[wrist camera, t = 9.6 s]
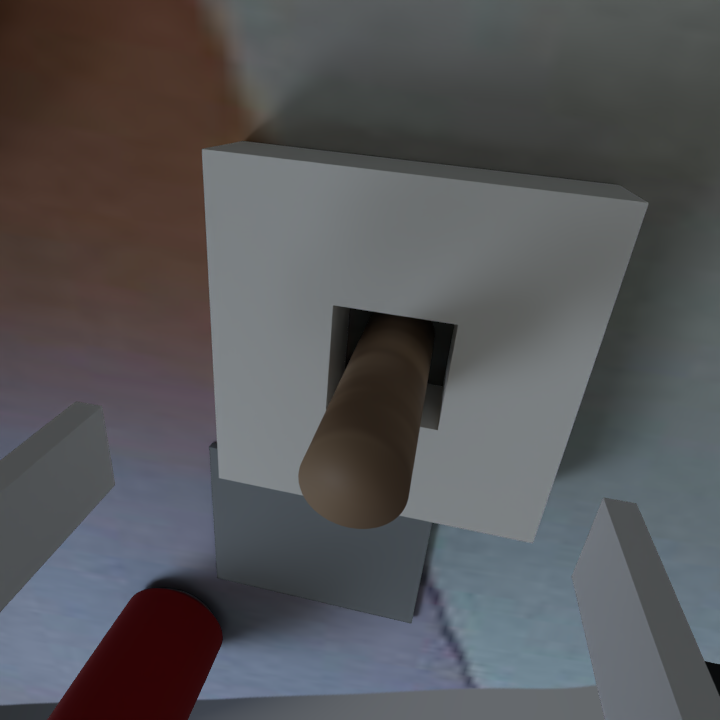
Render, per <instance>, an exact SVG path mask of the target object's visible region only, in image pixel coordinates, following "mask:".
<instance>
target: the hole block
mask: <svg viewBox="0 0 720 720" xmlns="http://www.w3.org/2000/svg"><path fill="white" fill-rule="evenodd" d="M202 161H203V180H204V200H205V219H206V238H207V257H208V276H209V296H210V315H211V334H212V353H213V373H214V392H215V411H216V430H217V450H218V469H219V478H221V479H226V480H231V481H235V482H240V483H245V484H250V485H255V486H259V487H264V488H269V489H274V490H279V491H283V492H288V493H293V494H298V495H303V494H302V492H301V489H300V486H299V480H298V474H299V468H300V465H301V463H302V460H303V458H304V456H305V454H306V452H307V450H308V448H309V446H310V444H311V441H312V439H313V437H314V435H315V433H316V431H317V429H318V427H319V424H320V422H321V420H322V418H323V416H324V414H325V412H326V410H327V408H328V405H329V403H330V401H331V399H332V397H333V395H334V393H335V391H336V388H337V386H338V384H339V382H340V380H341V378H342V376H343V374H344V371H345V363H346V351H347V339H348V327H349V315H350V308H354V309H360V310H367V311H373V312H379V313H386V314H392V315H399V316H405V317H411V318H418V319H424V320H430V321H437V322H443V323H450V324H454V329H453V334H452V339H451V345H450V350H449V355H448V361H447V366H446V371H445V376H444V382H443V386H438V385H432V384H427V388H426V394H425V400H424V406H423V412H422V419H421V425H420V431H419V437H418V443H417V449H416V455H415V461H414V467H413V473H412V479H411V486H410V492H409V498H408V502H407V504H406V507H405V509H404V510H403V512H402V513H401V514H400V515H399V516H404V517H408V518H413V519H418V520H423V521H428V522H432V523H437V524H442V525H447V526H452V527H457V528H461V529H466V530H471V531H476V532H481V533H485V534H490V535H495V536H500V537H505V538H509V539H514V540H519V541H524V542H529V543H533V541H534V539H535V536H536V533H537V530H538V527H539V524H540V521H541V518H542V515H543V512H544V509H545V506H546V503H547V500H548V497H549V495H550V492H551V489H552V486H553V483H554V480H555V477H556V474H557V471H558V468H559V465H560V462H561V459H562V456H563V453H564V451H565V448H566V445H567V442H568V439H569V436H570V433H571V430H572V427H573V424H574V421H575V418H576V415H577V412H578V409H579V406H580V404H581V401H582V398H583V395H584V392H585V389H586V386H587V383H588V380H589V377H590V374H591V371H592V368H593V365H594V362H595V360H596V357H597V354H598V351H599V348H600V345H601V342H602V339H603V336H604V333H605V330H606V327H607V324H608V321H609V318H610V316H611V313H612V310H613V307H614V304H615V301H616V298H617V295H618V292H619V289H620V286H621V283H622V280H623V277H624V274H625V272H626V269H627V266H628V263H629V260H630V257H631V254H632V251H633V248H634V245H635V242H636V239H637V236H638V233H639V230H640V227H641V225H642V222H643V219H644V216H645V213H646V210H647V207H648V204H649V203H648V202H647V201H645V200H643V199H642V198H640V197H638V196H637V195H635V194H633V193H632V192H630V191H629V190H627V189H625V188H624V187H622V186H620V185H615V184H606V183H598V182H589V181H581V180H572V179H563V178H555V177H546V176H538V175H529V174H521V173H512V172H504V171H495V170H487V169H478V168H469V167H461V166H452V165H444V164H435V163H427V162H418V161H410V160H401V159H392V158H384V157H375V156H367V155H358V154H350V153H341V152H333V151H324V150H315V149H307V148H298V147H290V146H281V145H273V144H264V143H256V142H247V141H241V142H236V143H231V144H225V145H220V146H215V147H210V148H205V149H202Z"/></svg>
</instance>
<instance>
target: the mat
mask: <svg viewBox="0 0 720 720" xmlns="http://www.w3.org/2000/svg"><path fill="white" fill-rule="evenodd" d="M209 451H210V467H211V484H212V500H213V516H214V533H215V549H216V565H217V578H220V579H224V580H228V581H232V582H237V583H241V584H245V585H249V586H254V587H258V588H262V589H266V590H271V591H275V592H279V593H284V594H288V595H292V596H296V597H301V598H305V599H309V600H313V601H318V602H322V603H326V604H330V605H335V606H339V607H343V608H347V609H352V610H356V611H360V612H364V613H369V614H373V615H377V616H381V617H386V618H390V619H394V620H398V621H403V622H407V623H412V618H413V613H414V608H415V604H416V599H417V594H418V589H419V584H420V580H421V575H422V570H423V565H424V560H425V556H426V551H427V546H428V541H429V536H430V532H431V527H432V522H428V521H423V520H418V519H413V518H408V517H404V516H398V517H397V518H396V519H395V520H393V521H392V522H390V523H388V524H386V525H384V526H381V527H377V528H371V529H354V528H348V527H344V526H341V525H338V524H335V523H333V522H331V521H329V520H327V519H326V518H324V517H323V516H321V515H320V514H318V513H317V512H316V511H315V510H314V509H313V508H312V507H311V506H310V505H309V504H308V502H307V501H306V499H305V498H304V496H303V495H298V494H293V493H288V492H283V491H279V490H274V489H269V488H264V487H259V486H255V485H250V484H245V483H240V482H235V481H231V480H226V479H221V478H219V469H218V450H217V443H212V444H211V445H210V447H209Z"/></svg>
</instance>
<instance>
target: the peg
mask: <svg viewBox="0 0 720 720" xmlns="http://www.w3.org/2000/svg"><path fill="white" fill-rule="evenodd" d="M434 339H435V331H434V327H433V324H432V322H431V321H430V320H424V319H418V318H411V317H405V316H399V315H392V314H386V313H379V312H374V313H373V314H372V315H371V317H370V319H369V321H368V323H367V325H366V327H365V329H364V331H363V333H362V335H361V338H360V340H359V342H358V344H357V346H356V348H355V350H354V352H353V355H352V357H351V359H350V361H349V363H348V365H347V367H346V369H345V371H344V374H343V376H342V378H341V380H340V382H339V384H338V386H337V388H336V391H335V393H334V395H333V397H332V399H331V401H330V403H329V405H328V408H327V410H326V412H325V414H324V416H323V418H322V420H321V422H320V424H319V427H318V429H317V431H316V433H315V435H314V437H313V439H312V441H311V444H310V446H309V448H308V450H307V452H306V454H305V456H304V458H303V460H302V463H301V465H300V468H299V474H298V480H299V486H300V489H301V492H302V494H303V496H304V498H305V499H306V501H307V502H308V504H309V505H310V506H311V507H312V508H313V509H314V510H315V511H316V512H317V513H318V514H320V515H321V516H323V517H324V518H326V519H327V520H329V521H331V522H333V523H335V524H338V525H341V526H344V527H348V528H354V529H371V528H377V527H381V526H384V525H386V524H388V523H390V522H392V521H393V520H395V519H396V518H397V517H398V516H399V515H400V514H401V513H402V512H403V510H404V509H405V507H406V504H407V502H408V498H409V492H410V486H411V479H412V473H413V467H414V461H415V455H416V449H417V443H418V437H419V431H420V425H421V419H422V412H423V406H424V400H425V394H426V388H427V382H428V376H429V370H430V364H431V358H432V352H433V346H434Z"/></svg>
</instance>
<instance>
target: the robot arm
mask: <svg viewBox="0 0 720 720" xmlns="http://www.w3.org/2000/svg"><path fill="white" fill-rule="evenodd" d="M114 485H115V481H114V475H113V469H112V463H111V457H110V451H109V445H108V439H107V433H106V427H105V421H104V415H103V410H102V406H98V405H93V404H87V403H82V402H75V403H73V404H72V405H71V406H70V407H68V408H67V409H66V410H64V411H63V412H62V413H61V414H59V415H58V416H57V417H55V418H54V419H53V420H52V421H50V422H49V423H48V424H46V425H45V426H44V427H43V428H41V429H40V430H39V431H37V432H36V433H35V434H34V435H32V436H31V437H30V438H29V439H27V440H26V441H25V442H23V443H22V444H21V445H20V446H18V447H17V448H16V449H14V450H13V451H12V452H11V453H9V454H8V455H7V456H5V457H4V458H3V459H2V460H0V612H1V611H2V610H3V609H4V607H5V606H6V605H7V604H8V603H9V602H10V601H11V600H12V599H13V597H14V596H15V595H16V594H17V593H18V592H19V591H20V590H21V589H22V587H23V586H24V585H25V584H26V583H27V582H28V581H29V580H30V579H31V578H32V576H33V575H34V574H35V573H36V572H37V571H38V570H39V569H40V568H41V566H42V565H43V564H44V563H45V562H46V561H47V560H48V559H49V558H50V556H51V555H52V554H53V553H54V552H55V551H56V550H57V549H58V548H59V546H60V545H61V544H62V543H63V542H64V541H65V540H66V539H67V538H68V536H69V535H70V534H71V533H72V532H73V531H74V530H75V529H76V528H77V527H78V525H79V524H80V523H81V522H82V521H83V520H84V519H85V518H86V517H87V515H88V514H89V513H90V512H91V511H92V510H93V509H94V508H95V507H96V505H97V504H98V503H99V502H100V501H101V500H102V499H103V498H104V497H105V495H106V494H107V493H108V492H109V491H110V490H111V489H112V488H113V487H114ZM572 580H573V584H574V588H575V593H576V597H577V601H578V606H579V610H580V614H581V619H582V623H583V627H584V632H585V636H586V640H587V645H588V649H589V653H590V658H591V662H592V666H593V671H594V675H595V680H596V684H597V688H598V693H599V697H600V701H601V706H602V710H603V714H604V719H605V720H720V664H715V663H711V662H706V661H704V659H703V657H702V654H701V652H700V650H699V647H698V645H697V643H696V640H695V638H694V636H693V634H692V631H691V629H690V627H689V624H688V622H687V620H686V617H685V615H684V613H683V610H682V608H681V606H680V603H679V601H678V599H677V596H676V594H675V592H674V590H673V587H672V585H671V583H670V580H669V578H668V576H667V573H666V571H665V569H664V566H663V564H662V562H661V559H660V557H659V555H658V552H657V550H656V548H655V546H654V543H653V541H652V539H651V536H650V534H649V532H648V529H647V527H646V525H645V522H644V520H643V518H642V515H641V513H640V511H639V509H638V506H637V504H636V503H631V502H625V501H620V500H614V499H609V498H603V500H602V502H601V505H600V507H599V510H598V512H597V515H596V517H595V520H594V522H593V524H592V527H591V529H590V532H589V534H588V537H587V539H586V542H585V544H584V547H583V549H582V552H581V554H580V557H579V559H578V562H577V564H576V567H575V569H574V572H573V574H572Z"/></svg>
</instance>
